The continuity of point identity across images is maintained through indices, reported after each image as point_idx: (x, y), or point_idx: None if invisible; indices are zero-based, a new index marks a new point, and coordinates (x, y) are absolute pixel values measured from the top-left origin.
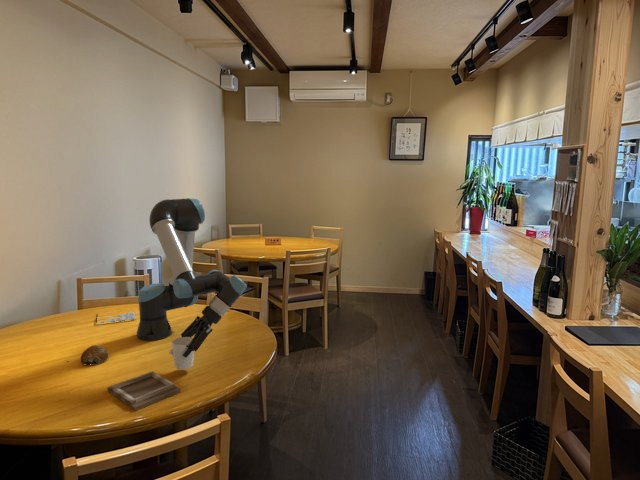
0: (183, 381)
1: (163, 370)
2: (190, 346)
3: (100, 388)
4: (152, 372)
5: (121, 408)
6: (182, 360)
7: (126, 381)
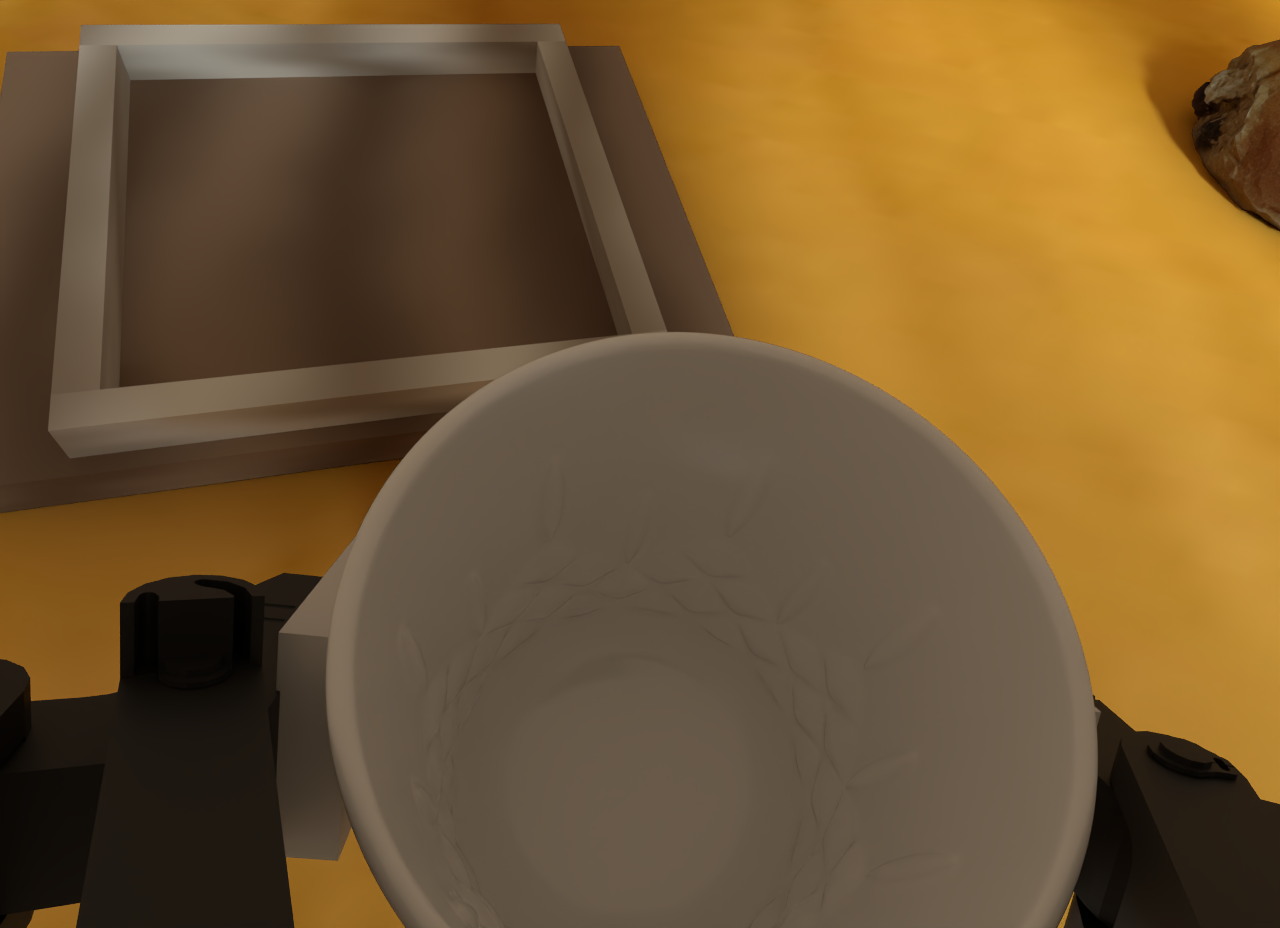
0: None
1: None
2: (123, 709)
3: (695, 60)
4: None
5: None
6: None
7: (573, 115)
